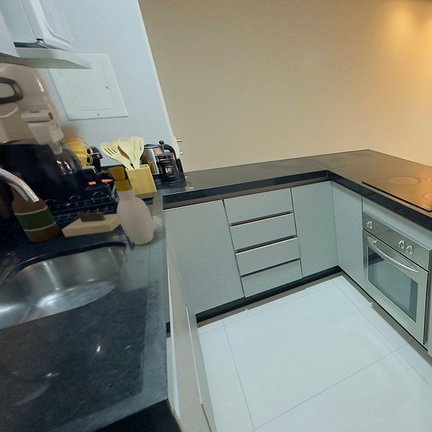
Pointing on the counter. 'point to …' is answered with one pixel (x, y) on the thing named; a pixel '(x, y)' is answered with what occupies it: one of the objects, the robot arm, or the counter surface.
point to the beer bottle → (34, 217)
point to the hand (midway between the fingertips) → (58, 153)
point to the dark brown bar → (92, 217)
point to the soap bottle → (131, 210)
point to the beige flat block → (92, 226)
